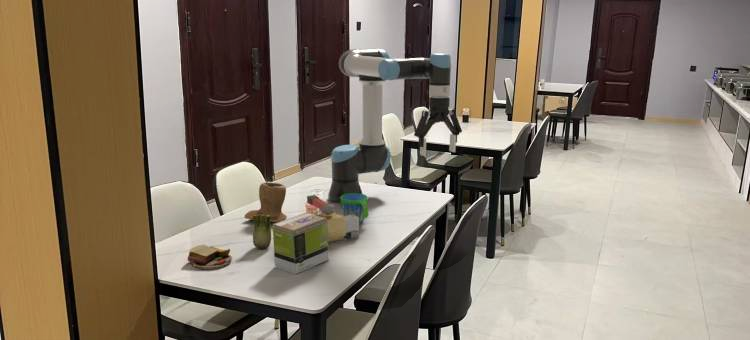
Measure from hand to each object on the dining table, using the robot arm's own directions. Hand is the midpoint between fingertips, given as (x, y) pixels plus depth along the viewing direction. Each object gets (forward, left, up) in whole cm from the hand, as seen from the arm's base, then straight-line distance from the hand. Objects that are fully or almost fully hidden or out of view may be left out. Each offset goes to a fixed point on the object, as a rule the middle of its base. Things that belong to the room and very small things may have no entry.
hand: (437, 153), depth 224 cm
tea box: (+10, -60, -28) cm, 67 cm away
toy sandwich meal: (-6, -85, -28) cm, 90 cm away
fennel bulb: (-10, -66, -28) cm, 73 cm away
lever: (-11, -43, -18) cm, 48 cm away
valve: (-5, -43, -28) cm, 52 cm away
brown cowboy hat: (-38, -53, -28) cm, 71 cm away
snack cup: (-19, -25, -28) cm, 42 cm away
